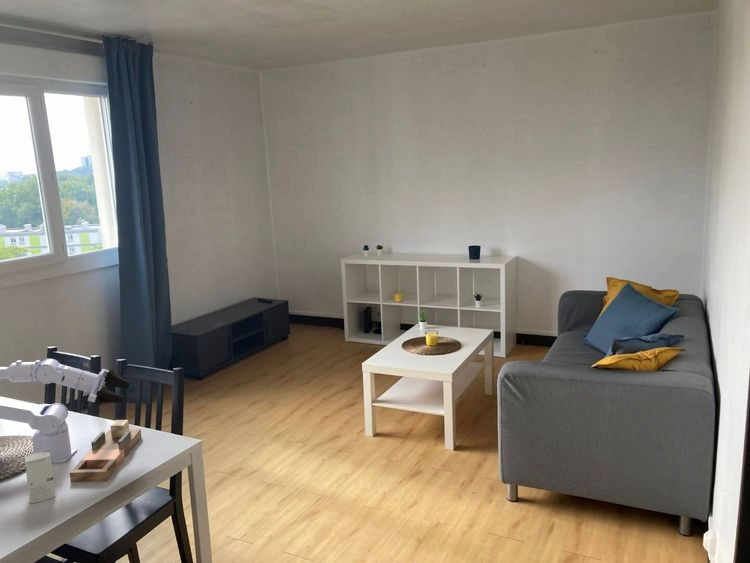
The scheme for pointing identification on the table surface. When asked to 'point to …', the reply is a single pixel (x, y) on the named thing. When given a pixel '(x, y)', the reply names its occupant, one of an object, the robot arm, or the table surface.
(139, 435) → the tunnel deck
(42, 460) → the skincare box
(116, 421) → the maple block
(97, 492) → the table surface
